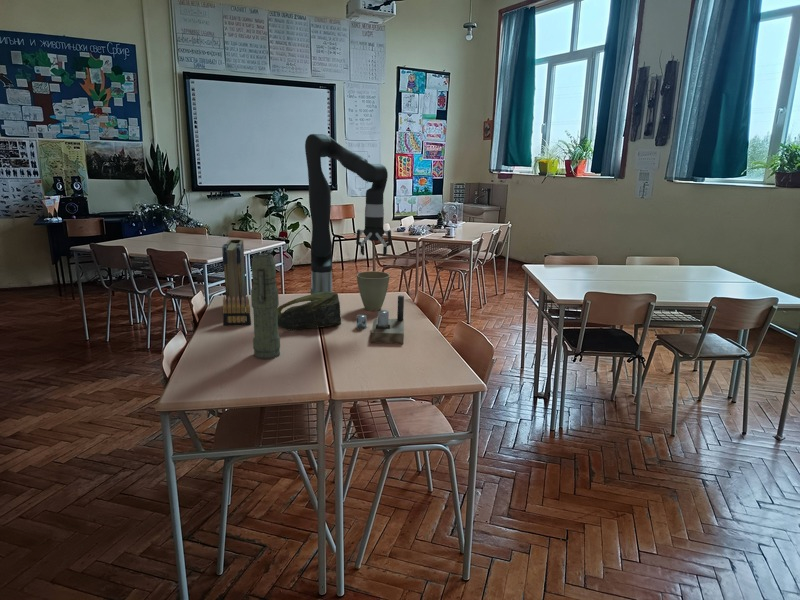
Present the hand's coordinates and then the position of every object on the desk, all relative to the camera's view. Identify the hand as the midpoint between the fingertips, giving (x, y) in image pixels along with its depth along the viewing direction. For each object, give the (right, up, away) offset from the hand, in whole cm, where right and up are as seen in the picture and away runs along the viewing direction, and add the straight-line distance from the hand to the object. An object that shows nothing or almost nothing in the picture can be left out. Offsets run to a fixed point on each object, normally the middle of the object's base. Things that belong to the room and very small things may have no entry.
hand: (373, 255), depth 214 cm
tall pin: (+4, -32, -12) cm, 35 cm away
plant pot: (-2, -22, +26) cm, 34 cm away
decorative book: (-61, -23, +18) cm, 68 cm away
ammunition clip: (-55, -28, -2) cm, 62 cm away
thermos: (-35, -37, -33) cm, 61 cm away
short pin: (-5, -29, -1) cm, 30 cm away
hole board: (+6, -32, -10) cm, 34 cm away
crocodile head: (-26, -29, -3) cm, 40 cm away
